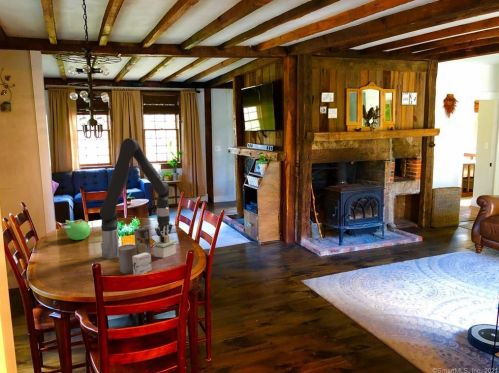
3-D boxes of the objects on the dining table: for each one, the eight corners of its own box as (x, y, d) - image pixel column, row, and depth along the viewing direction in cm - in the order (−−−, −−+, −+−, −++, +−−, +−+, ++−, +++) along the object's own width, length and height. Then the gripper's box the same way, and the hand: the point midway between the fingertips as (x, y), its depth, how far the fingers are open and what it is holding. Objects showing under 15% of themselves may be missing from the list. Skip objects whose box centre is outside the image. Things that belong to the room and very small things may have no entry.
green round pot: (90, 241, 280) (89, 221, 278) (64, 244, 274) (62, 223, 272) (90, 235, 297) (89, 216, 295) (66, 237, 291) (64, 218, 289)
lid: (163, 248, 238) (162, 238, 238) (152, 246, 243) (151, 236, 242) (176, 243, 249) (176, 234, 248) (166, 241, 253) (165, 232, 252)
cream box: (163, 258, 240) (163, 248, 239) (154, 256, 244) (153, 246, 243) (176, 253, 249) (175, 243, 249) (166, 251, 254) (166, 242, 253)
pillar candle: (139, 267, 225) (138, 241, 223) (135, 273, 215) (133, 246, 213) (122, 268, 224) (120, 242, 222) (117, 274, 215) (115, 247, 213)
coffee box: (150, 251, 253) (149, 227, 251) (150, 254, 247) (149, 229, 244) (135, 253, 250) (134, 228, 248) (135, 256, 244) (134, 231, 242)
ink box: (146, 272, 216) (145, 251, 214) (152, 274, 213) (151, 253, 211) (133, 277, 210) (131, 255, 208) (138, 279, 206) (137, 257, 205)
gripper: (159, 217, 235) (160, 245, 238) (175, 213, 247) (176, 239, 250) (150, 216, 239) (151, 243, 242) (166, 211, 251) (167, 238, 253)
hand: (164, 241), depth 246 cm, fingers closed on lid, 2 cm apart
